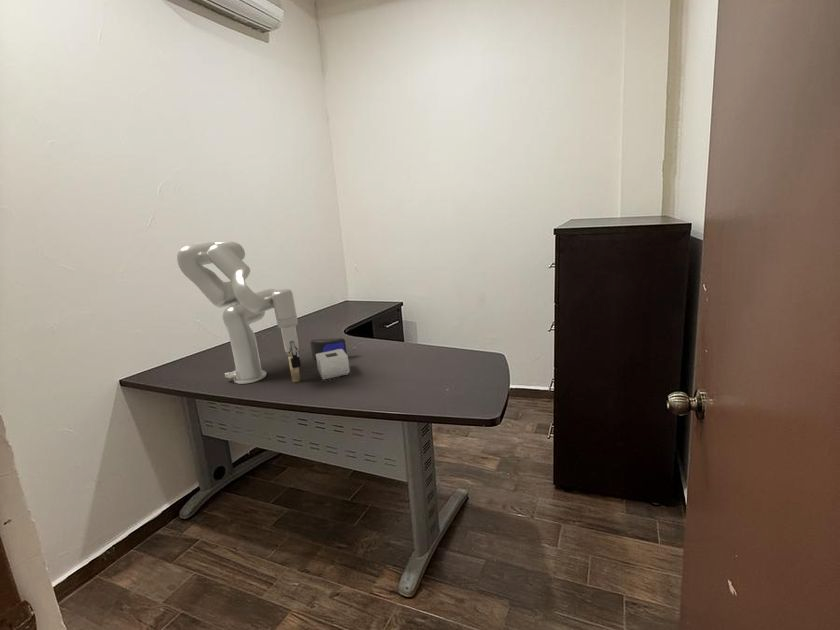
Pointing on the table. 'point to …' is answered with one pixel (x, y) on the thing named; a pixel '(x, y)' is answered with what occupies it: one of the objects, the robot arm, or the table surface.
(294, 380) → the dowel
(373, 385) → the table surface
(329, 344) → the leaning round-cornered charcoal block
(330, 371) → the bore block
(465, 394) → the table surface
